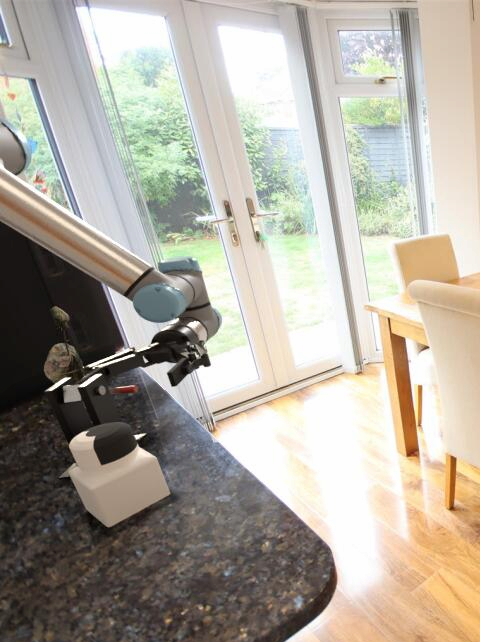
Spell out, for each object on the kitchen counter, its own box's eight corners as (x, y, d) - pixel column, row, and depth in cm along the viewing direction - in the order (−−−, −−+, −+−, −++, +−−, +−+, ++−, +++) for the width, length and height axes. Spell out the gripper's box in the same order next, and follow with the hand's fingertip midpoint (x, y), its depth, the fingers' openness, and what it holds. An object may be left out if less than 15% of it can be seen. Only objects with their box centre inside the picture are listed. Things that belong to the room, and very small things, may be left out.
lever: (104, 400, 76) (103, 385, 76) (138, 395, 77) (137, 381, 77) (52, 404, 65) (50, 387, 66) (92, 399, 66) (91, 383, 67)
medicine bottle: (149, 483, 66) (119, 411, 62) (173, 499, 63) (144, 424, 58) (88, 514, 61) (50, 437, 56) (111, 534, 57) (73, 454, 53)
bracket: (101, 446, 76) (68, 371, 71) (149, 439, 77) (120, 365, 72) (61, 485, 67) (20, 402, 62) (116, 477, 68) (80, 394, 63)
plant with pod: (104, 388, 96) (66, 296, 88) (111, 407, 88) (70, 307, 81) (51, 403, 90) (6, 306, 83) (54, 424, 83) (5, 319, 75)
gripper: (247, 349, 101) (213, 394, 82) (118, 364, 96) (49, 415, 77) (239, 317, 99) (201, 355, 79) (105, 330, 94) (30, 374, 74)
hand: (126, 385), depth 78 cm, fingers open, 13 cm apart
